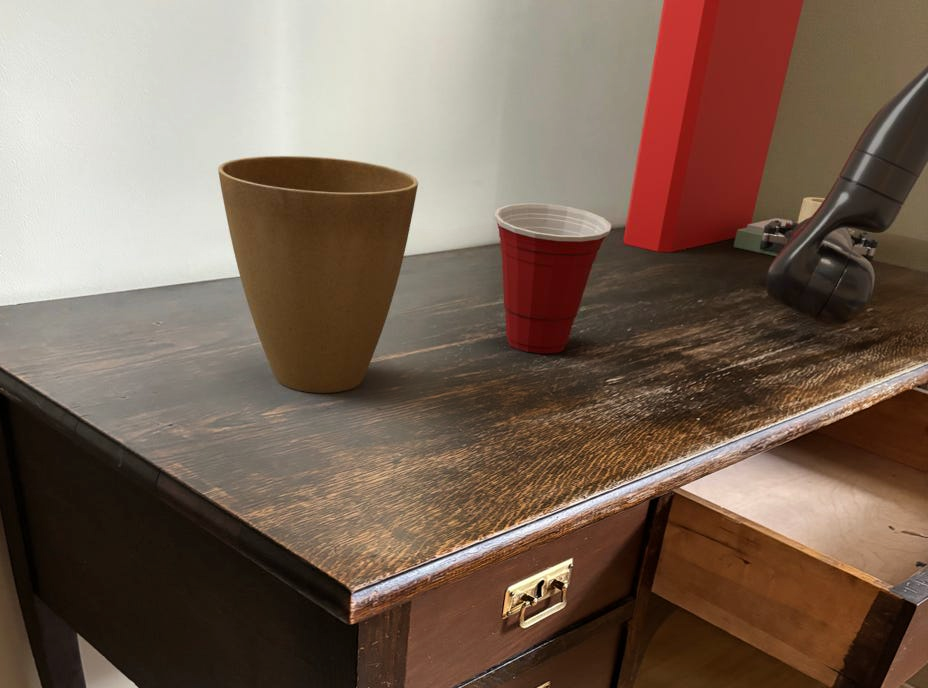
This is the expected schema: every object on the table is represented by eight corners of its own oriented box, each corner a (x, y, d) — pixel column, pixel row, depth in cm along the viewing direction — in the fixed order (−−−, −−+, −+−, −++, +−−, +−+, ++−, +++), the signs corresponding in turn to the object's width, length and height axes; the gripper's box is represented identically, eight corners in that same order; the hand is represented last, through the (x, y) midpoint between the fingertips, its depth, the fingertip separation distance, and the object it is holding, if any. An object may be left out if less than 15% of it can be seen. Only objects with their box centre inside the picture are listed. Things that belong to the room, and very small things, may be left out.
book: (704, 225, 160) (752, -6, 143) (748, 234, 156) (804, -2, 139) (618, 242, 142) (661, -20, 124) (665, 253, 138) (717, -17, 120)
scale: (846, 254, 149) (853, 231, 147) (814, 265, 140) (821, 241, 138) (767, 238, 155) (772, 216, 153) (731, 247, 146) (737, 224, 144)
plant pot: (212, 355, 84) (201, 152, 75) (374, 349, 90) (381, 158, 81) (248, 416, 73) (241, 186, 64) (431, 405, 78) (447, 191, 69)
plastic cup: (484, 358, 90) (498, 220, 83) (478, 326, 99) (490, 199, 92) (599, 367, 90) (622, 231, 84) (583, 334, 99) (603, 208, 93)
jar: (832, 284, 130) (856, 203, 124) (817, 289, 126) (840, 207, 120) (792, 275, 132) (813, 196, 127) (776, 280, 128) (797, 199, 123)
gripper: (892, 228, 111) (883, 208, 124) (764, 211, 114) (769, 193, 127) (871, 295, 115) (864, 268, 128) (748, 277, 118) (755, 253, 131)
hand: (817, 231), depth 128 cm, fingers closed on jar, 5 cm apart
